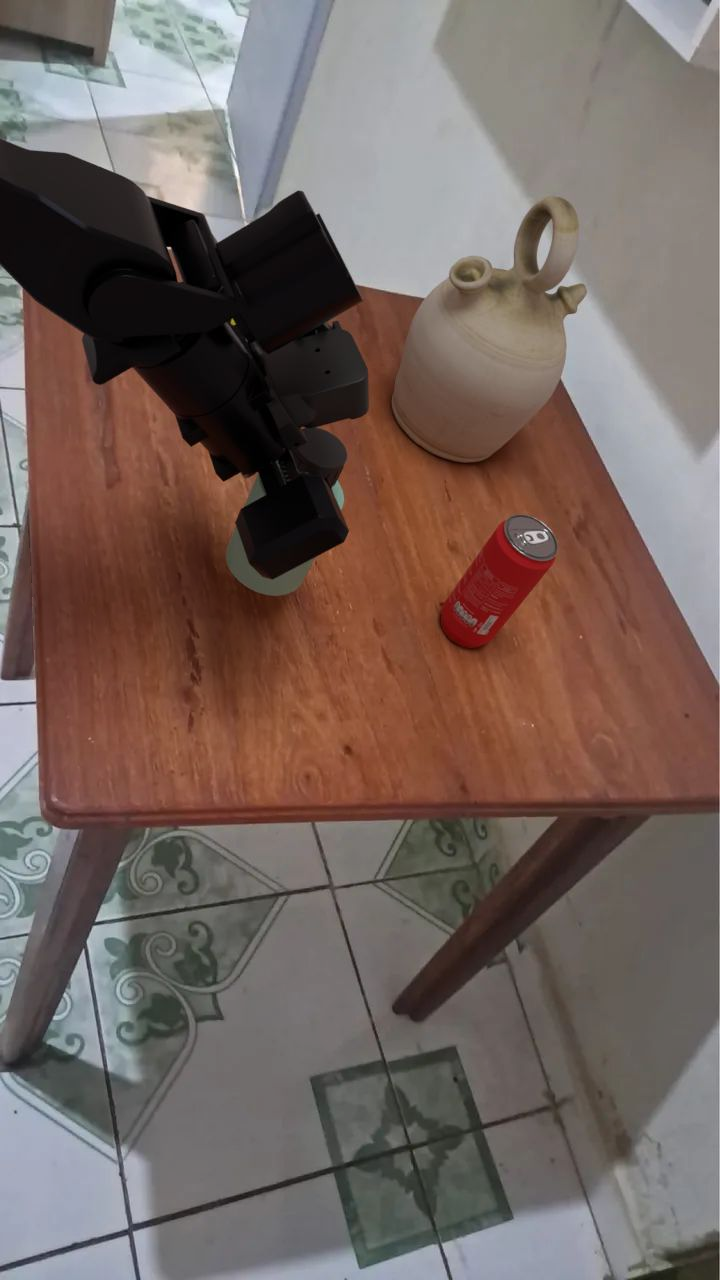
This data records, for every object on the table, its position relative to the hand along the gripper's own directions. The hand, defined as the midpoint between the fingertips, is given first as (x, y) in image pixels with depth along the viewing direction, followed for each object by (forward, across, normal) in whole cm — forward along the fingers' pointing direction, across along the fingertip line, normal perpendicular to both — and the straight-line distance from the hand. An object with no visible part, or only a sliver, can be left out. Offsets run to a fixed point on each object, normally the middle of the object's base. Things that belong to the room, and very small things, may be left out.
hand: (310, 505), depth 69 cm
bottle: (+4, 0, +6) cm, 7 cm away
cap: (-5, 0, -3) cm, 6 cm away
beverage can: (+19, -5, -5) cm, 20 cm away
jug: (+25, +21, -11) cm, 35 cm away
